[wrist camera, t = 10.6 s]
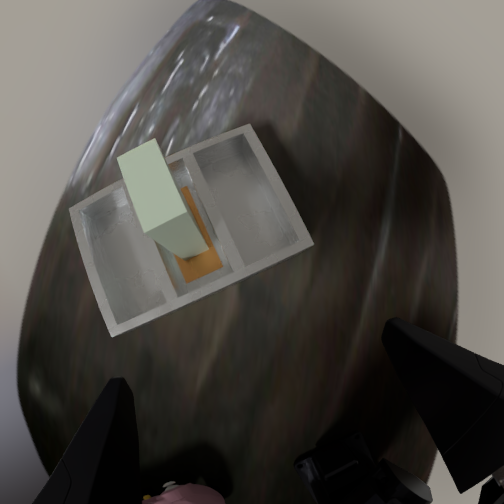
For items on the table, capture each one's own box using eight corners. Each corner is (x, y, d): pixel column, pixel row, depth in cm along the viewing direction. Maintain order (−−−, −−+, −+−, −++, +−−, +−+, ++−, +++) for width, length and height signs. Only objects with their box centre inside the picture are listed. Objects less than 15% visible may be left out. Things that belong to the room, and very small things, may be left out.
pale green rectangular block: (209, 249, 22) (187, 211, 12) (185, 261, 21) (144, 233, 12) (187, 203, 22) (155, 138, 12) (164, 214, 22) (116, 157, 12)
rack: (302, 252, 23) (314, 244, 19) (130, 331, 21) (111, 337, 17) (246, 144, 24) (248, 120, 20) (89, 217, 22) (68, 205, 19)
